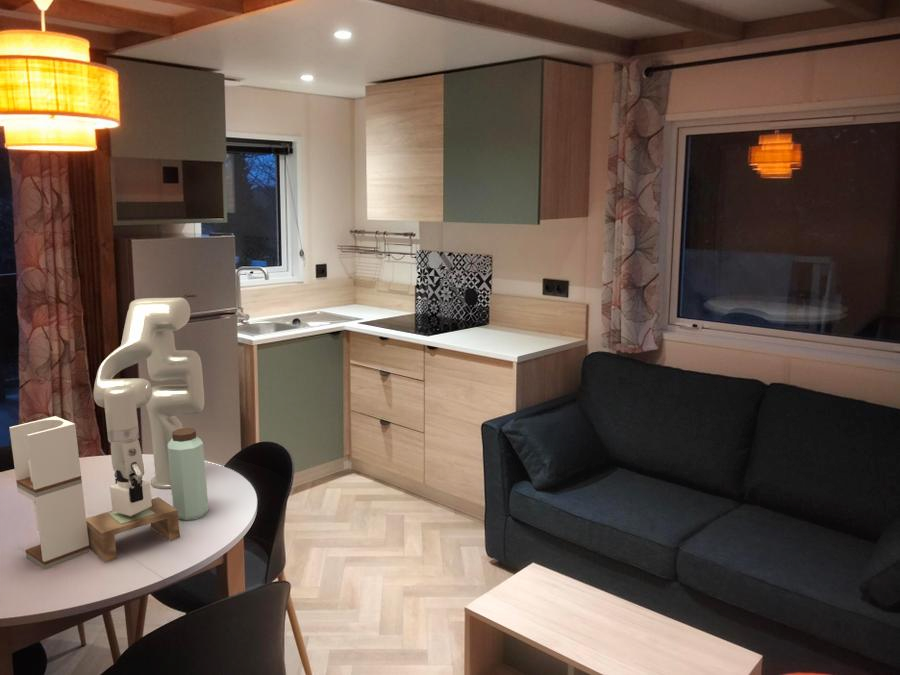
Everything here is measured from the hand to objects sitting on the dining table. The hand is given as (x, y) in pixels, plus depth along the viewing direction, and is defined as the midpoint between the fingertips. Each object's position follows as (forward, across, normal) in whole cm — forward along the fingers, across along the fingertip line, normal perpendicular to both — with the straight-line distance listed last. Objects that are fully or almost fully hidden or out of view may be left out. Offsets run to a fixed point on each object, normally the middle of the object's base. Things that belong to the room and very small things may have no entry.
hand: (129, 495), depth 210 cm
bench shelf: (+13, 0, 0) cm, 13 cm away
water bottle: (+13, +6, -19) cm, 24 cm away
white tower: (+13, +7, +17) cm, 23 cm away
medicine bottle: (+4, 0, 0) cm, 4 cm away
